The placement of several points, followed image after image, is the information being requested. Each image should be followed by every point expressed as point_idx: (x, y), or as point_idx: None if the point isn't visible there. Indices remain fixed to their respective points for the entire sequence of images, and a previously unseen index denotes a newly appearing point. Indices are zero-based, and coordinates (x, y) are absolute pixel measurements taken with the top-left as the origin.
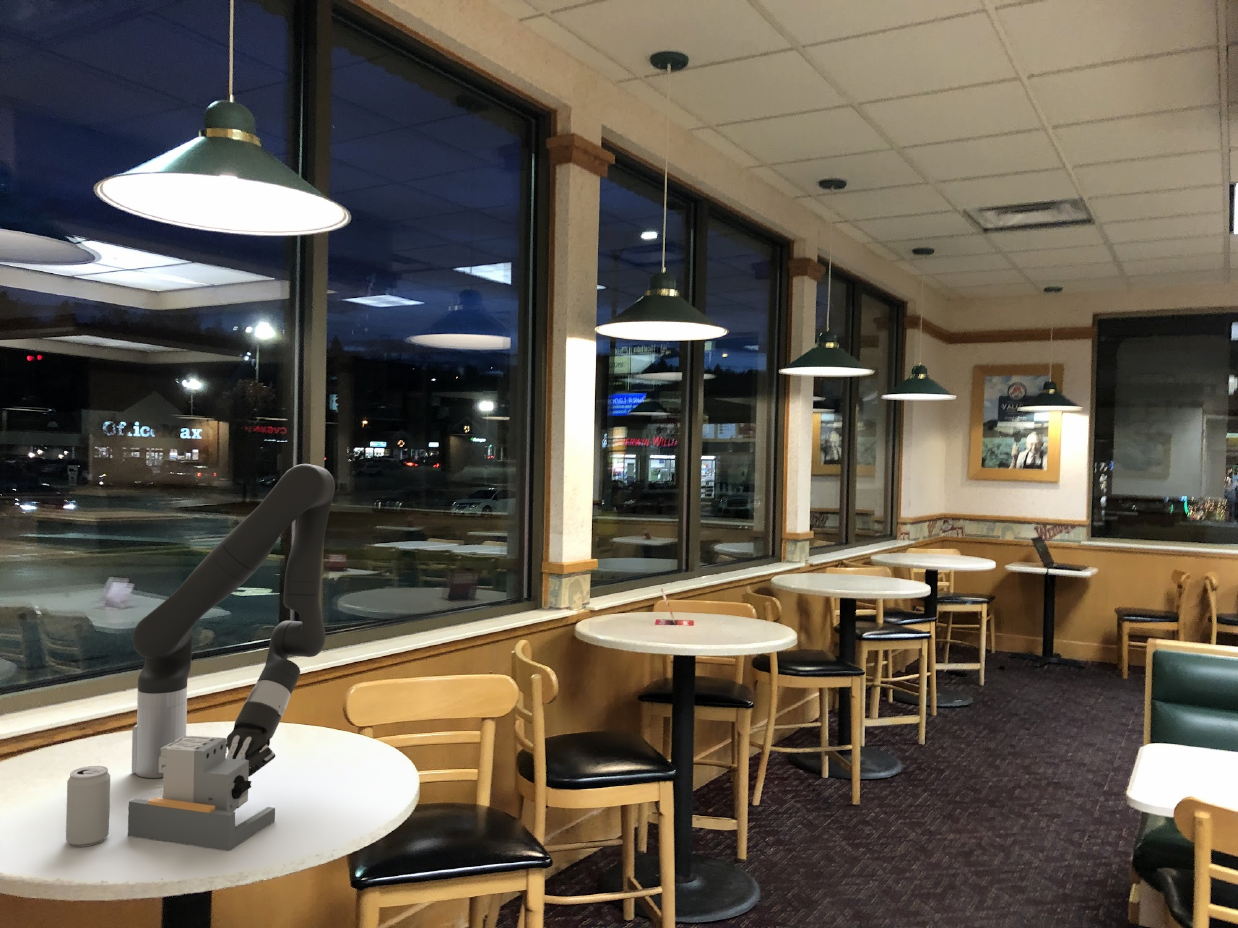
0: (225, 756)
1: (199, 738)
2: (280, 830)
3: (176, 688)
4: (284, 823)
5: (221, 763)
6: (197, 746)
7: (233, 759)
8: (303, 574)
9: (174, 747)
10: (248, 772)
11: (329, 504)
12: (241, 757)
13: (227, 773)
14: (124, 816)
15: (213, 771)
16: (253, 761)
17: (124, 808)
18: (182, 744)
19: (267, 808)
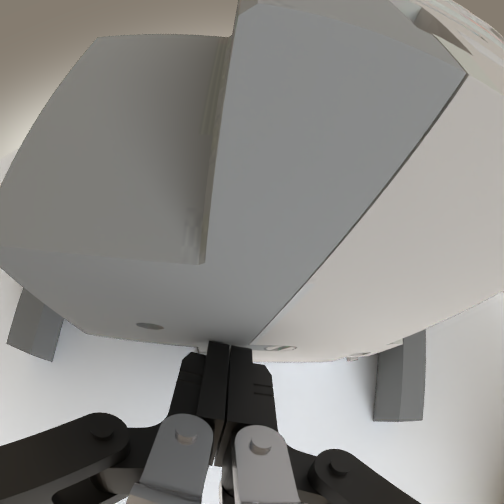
0: (206, 254)
1: None
2: (5, 283)
3: None
4: (3, 335)
5: (184, 140)
6: None
7: (103, 240)
8: None
9: (459, 7)
10: (24, 285)
11: None
12: (136, 497)
13: (98, 45)
14: (470, 328)
15: (181, 46)
16: (26, 453)
17: (493, 370)
18: (480, 26)
19: (27, 336)
